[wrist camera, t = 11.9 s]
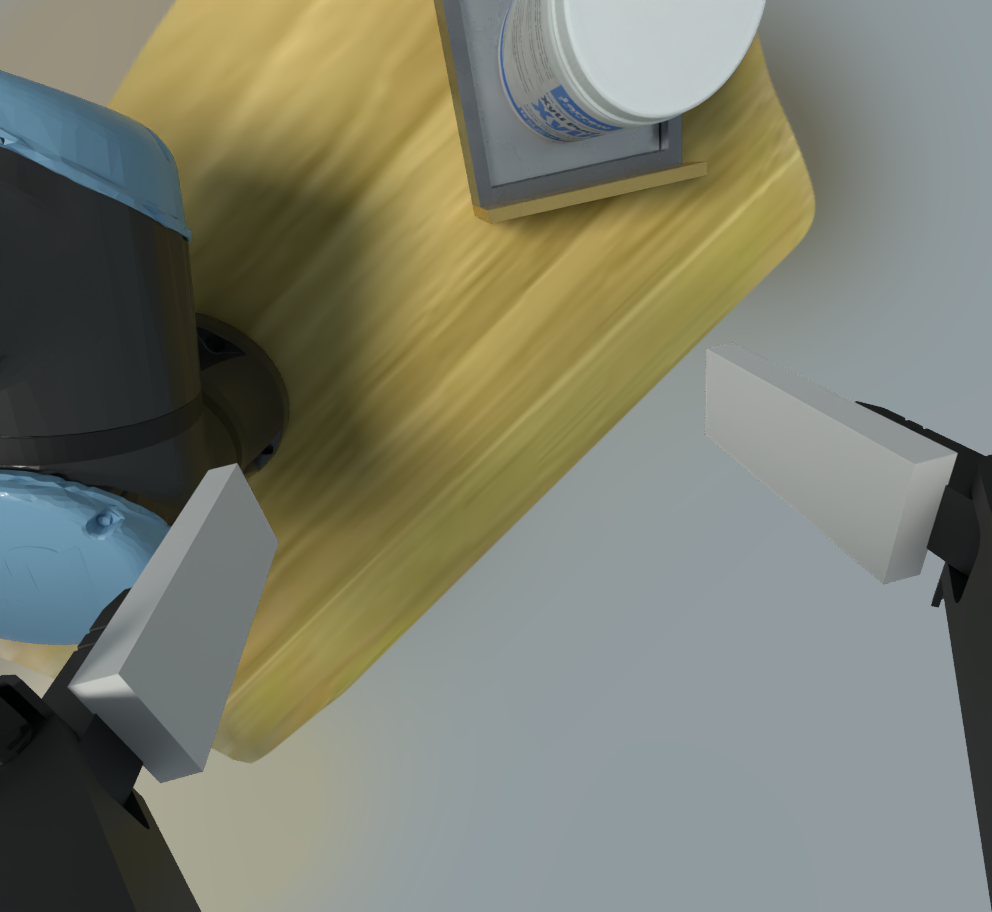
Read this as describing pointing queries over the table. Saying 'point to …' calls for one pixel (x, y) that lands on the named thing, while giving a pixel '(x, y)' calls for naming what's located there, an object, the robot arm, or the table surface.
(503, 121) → the gray square tray
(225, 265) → the table surface
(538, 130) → the supplement tub
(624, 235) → the table surface
